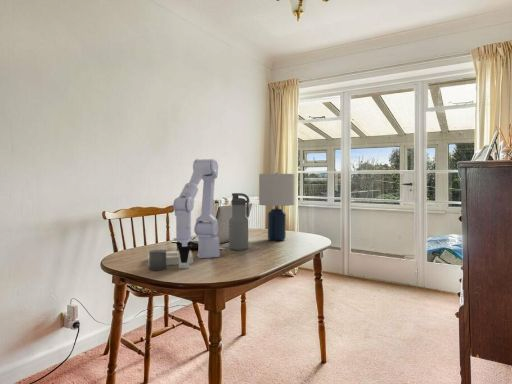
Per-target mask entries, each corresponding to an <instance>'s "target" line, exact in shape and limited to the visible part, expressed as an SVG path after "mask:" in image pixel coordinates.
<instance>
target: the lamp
mask: <svg viewBox="0 0 512 384" xmlns="http://www.w3.org/2000/svg"><path fill="white" fill-rule="evenodd" d="M295 175H296V174H295V173H279V172H275V173H259V174H258V176H259V177H258V205H260V206H266V207H267V206H268V207H269V206H271V207H272V206H273V207H274V208H271V209H270V210H269V211H268V213H267V239H268V241H272V242H283V241H284V240H286V233H287V231H286V226H287V225H286V224H287V222H286V220H287V219H286V218H287V217H286V212H285V211H284V209H283V208H280V207H286V206H288V207H289V206H295V200H296V198H295V197H296V196H295V186H296V185H295V183H296V182H295V181H296V179H295V177H296V176H295Z"/></svg>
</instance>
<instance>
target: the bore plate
mask: <svg viewBox="0 0 512 384" xmlns="http://www.w3.org/2000/svg"><path fill="white" fill-rule="evenodd" d="M189 252H190V265H191V264H194V255H193V252H192V250H191V249H190V251H189ZM173 265H174V266H175V265H178V250H175V251H174V250H173V251H166V266H173ZM147 267H149V254H148V256H147Z"/></svg>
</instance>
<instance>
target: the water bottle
mask: <svg viewBox="0 0 512 384" xmlns="http://www.w3.org/2000/svg"><path fill="white" fill-rule="evenodd" d="M231 196H232V199H231V208H232V209H231V211H232V213H231V217H230V218H229V219H228V247H229V249H230V250H231V251H232V250H233V251H245V250H247V249H249V219H248V218H249V215H250V213H249V212H250V211H249V210H250V207H249V203H250V198H249V196H248V195H247V194H246V193H242V192H240V193H239V192H234V193H231ZM239 196H240V197H239ZM243 197H244V198H243Z"/></svg>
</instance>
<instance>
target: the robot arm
mask: <svg viewBox="0 0 512 384" xmlns="http://www.w3.org/2000/svg"><path fill="white" fill-rule="evenodd" d="M192 170H193V172H192V174H191V177H190V180H189V182H187V183H185V184H184V186H183V188H182V190H181V192H180V193H179V196H178V197H176V198H175V199H174V200H173V204H172V208H173V211H174V216H175V221H176V223H175V225H176V227H175V229H176V230H175V232H176V233H175V234H176V236H175V237H174V238H173V239H172V240H173V241H175V243H176V244H175V245H176V248H177V251H178V250H179V253H180V258H181V263H187V260H188V254H189V251H190V250H191V249H192V244H191V241H192V217H191V216H192V211H193V210H194V207H195V206H194V205H195V197H196V196H197V194H198V192H199V187H198V185H199V184H200V182H201V181H203V183H202V184H203V185H202V200H201V201H202V202H201V210H200V211H201V213H200V215H199V216H197V218H196V219H195V224H194V228H193V231H194V234H195V235H196V237H197V239H198V241H197V242H198V253H196V256H197V258H198V259H207V258H209V259H210V258H220V237H219V235H218V234H219V220H218V219H217V218H216V217H215V216H214V215H213V211H214V210H213V209H214V198H215V197H214V195H215V182H216V181H215V180H216V179H217V178H218V173H219V165H218V161H217V160H216V159H215V158H210V159H209V158H207V159H205V158H204V159H203V158H202V159H198V158H196V159H194V160H193V163H192Z"/></svg>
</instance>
